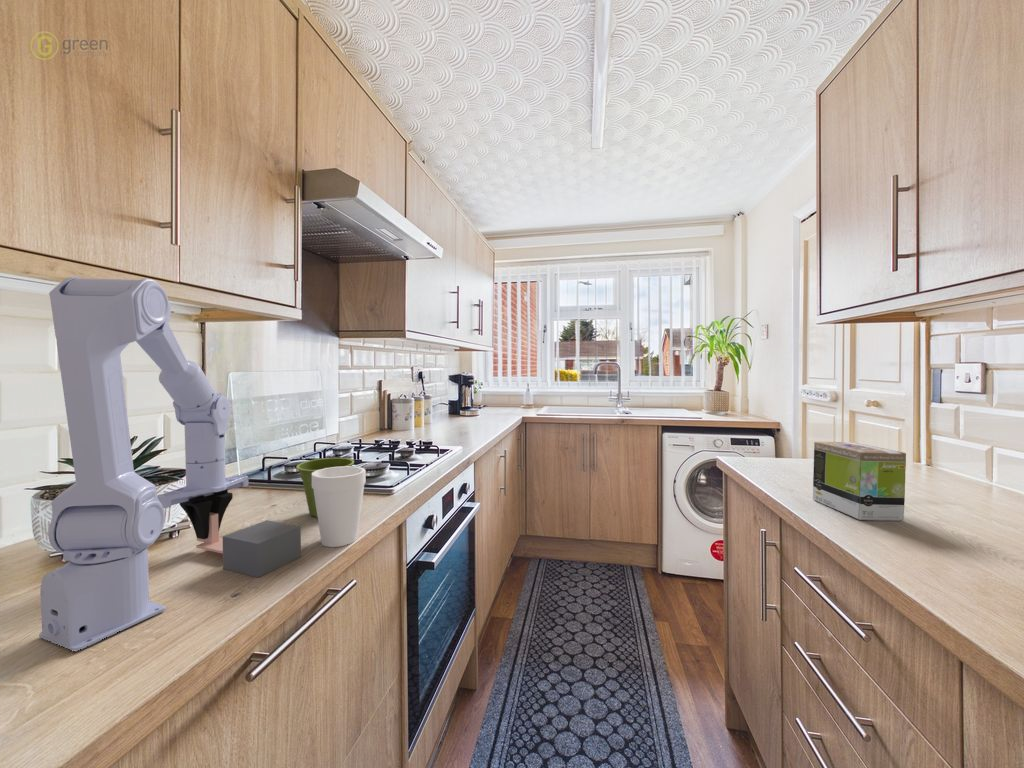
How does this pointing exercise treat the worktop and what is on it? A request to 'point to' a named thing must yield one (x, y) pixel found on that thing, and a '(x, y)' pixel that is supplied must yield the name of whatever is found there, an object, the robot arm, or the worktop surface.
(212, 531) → the pink stepped block
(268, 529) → the grey square box
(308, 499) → the plant pot
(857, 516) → the tea box
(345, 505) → the foam cup
